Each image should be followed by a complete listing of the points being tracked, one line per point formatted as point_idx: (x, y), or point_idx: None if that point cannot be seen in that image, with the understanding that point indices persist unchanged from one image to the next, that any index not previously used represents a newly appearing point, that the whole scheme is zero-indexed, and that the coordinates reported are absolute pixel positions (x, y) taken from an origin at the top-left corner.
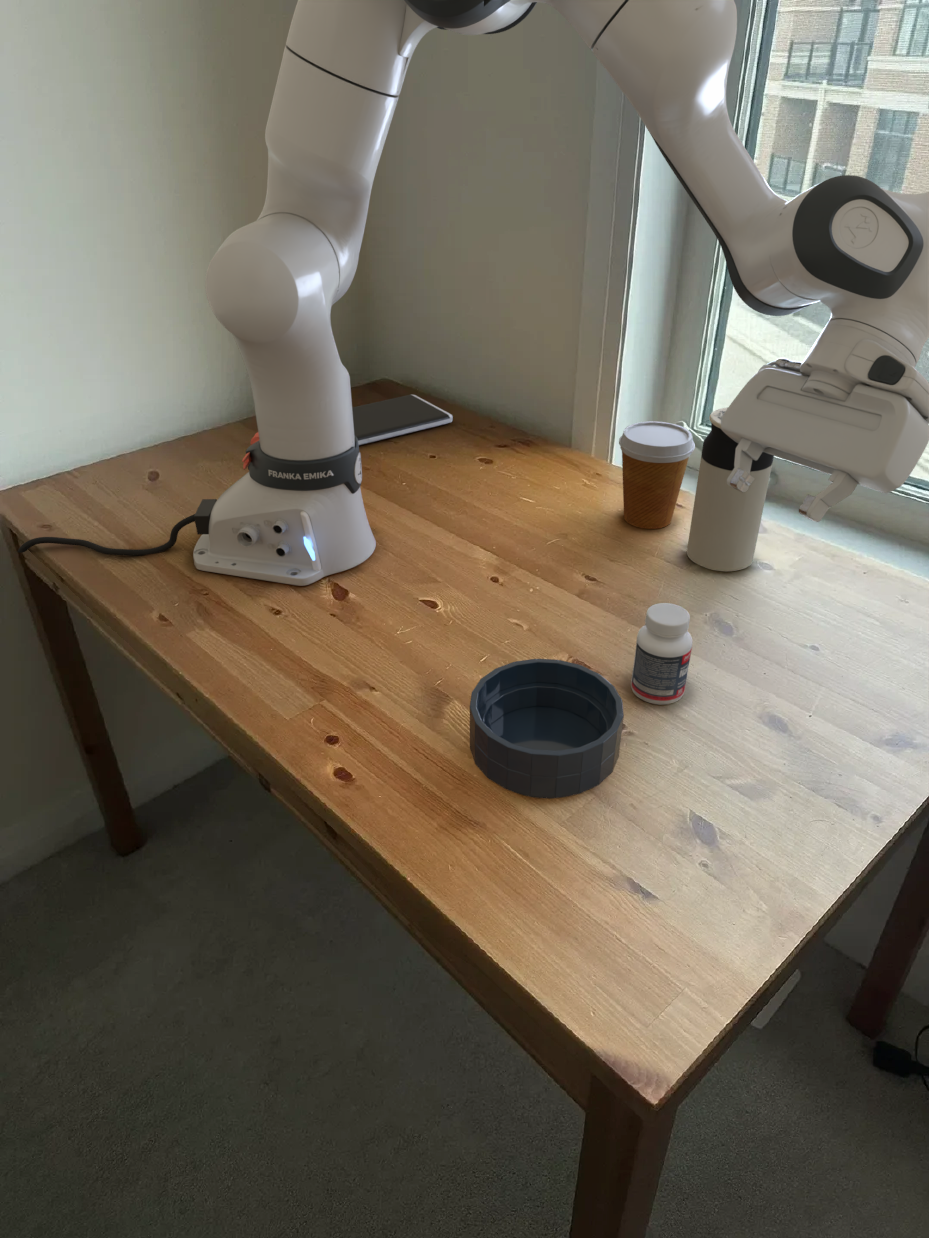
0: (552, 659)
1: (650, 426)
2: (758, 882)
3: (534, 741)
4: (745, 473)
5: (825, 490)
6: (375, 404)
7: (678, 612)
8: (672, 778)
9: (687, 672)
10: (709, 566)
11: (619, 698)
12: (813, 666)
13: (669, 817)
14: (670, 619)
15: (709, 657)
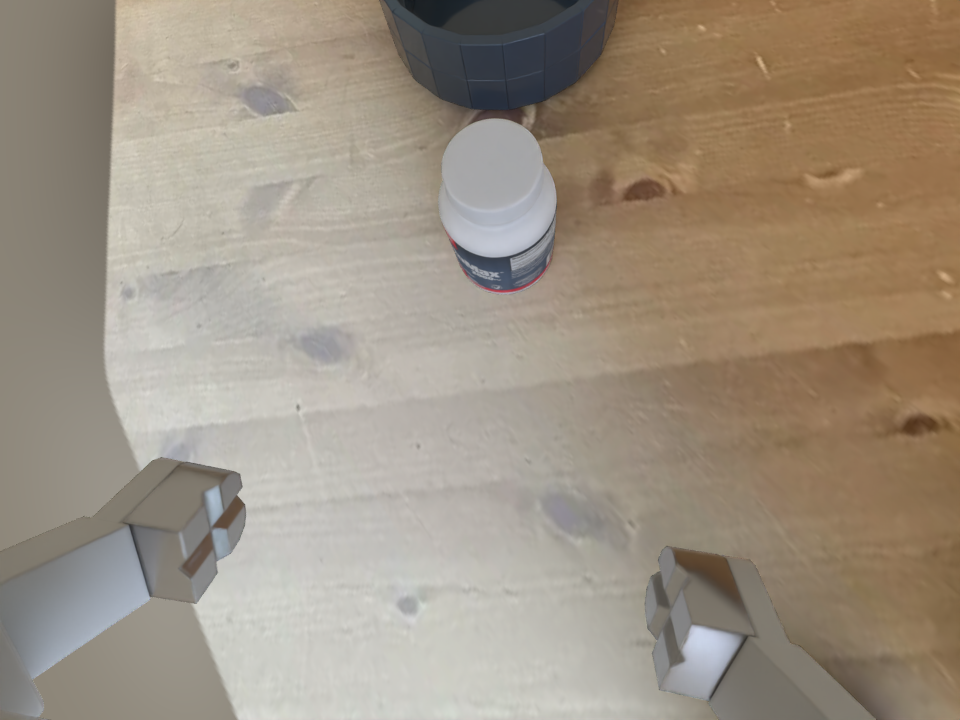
0: (590, 2)
1: None
2: (177, 97)
3: (516, 4)
4: (685, 626)
5: (42, 555)
6: None
7: (480, 186)
8: (349, 130)
9: (457, 256)
10: None
11: (428, 32)
12: (373, 544)
13: (306, 81)
14: (471, 151)
15: (516, 402)
